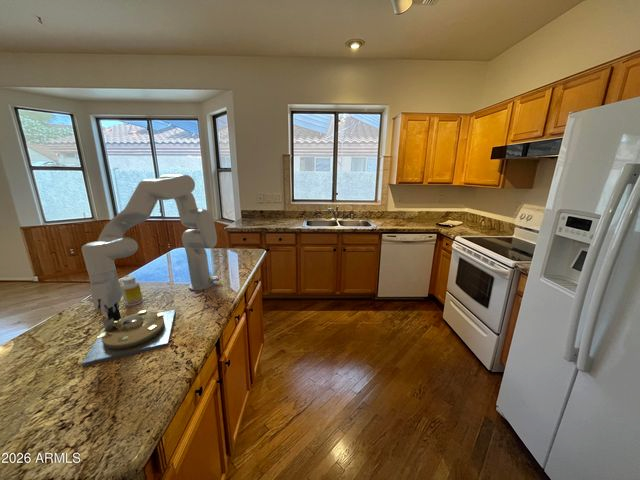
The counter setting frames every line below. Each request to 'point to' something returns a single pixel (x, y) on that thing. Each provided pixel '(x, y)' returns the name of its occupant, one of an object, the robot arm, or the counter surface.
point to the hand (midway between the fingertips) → (115, 319)
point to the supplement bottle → (131, 291)
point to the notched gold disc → (131, 329)
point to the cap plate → (104, 354)
